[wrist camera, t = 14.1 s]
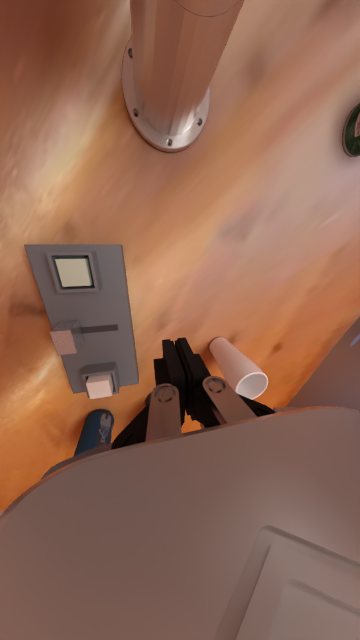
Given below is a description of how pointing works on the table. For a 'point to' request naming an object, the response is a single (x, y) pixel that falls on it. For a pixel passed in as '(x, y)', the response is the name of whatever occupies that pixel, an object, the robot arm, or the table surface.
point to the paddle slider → (67, 337)
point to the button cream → (100, 385)
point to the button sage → (75, 271)
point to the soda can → (95, 431)
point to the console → (90, 312)
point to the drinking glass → (238, 369)
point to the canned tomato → (352, 133)
